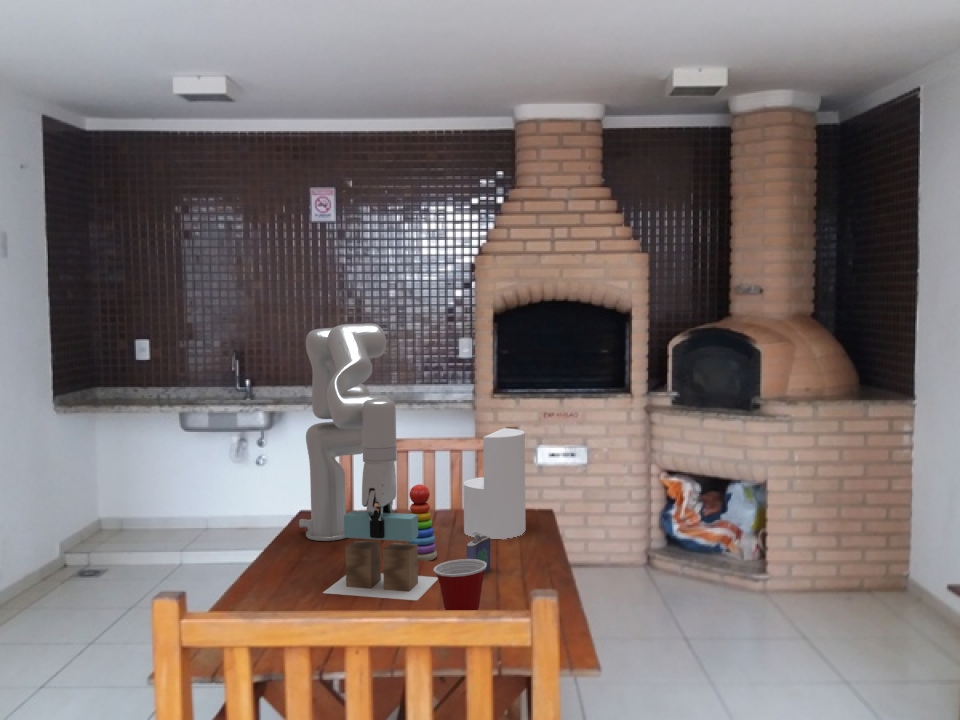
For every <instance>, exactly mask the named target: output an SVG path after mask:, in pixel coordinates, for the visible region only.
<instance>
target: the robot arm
mask: <svg viewBox="0 0 960 720" xmlns="http://www.w3.org/2000/svg"><path fill="white" fill-rule="evenodd" d="M305 348H306V353H307V356H308V359H309V361H310V365H311V369H312V385H311V387H312V390H311V393H312V396H311V407H312V412H313V414H314V416H315V417H316V418H317V419H319V420H332V421H328V422H327V421H326V422H319V423H314V424H312V425H311V426H310V427H308V429H307V430H306V434H305V443H306V447H307V454H308V461H309V462H308V463H309V475H310V476H309V478H310V479H309V480H310V483H309V484H310V515H311V516H310V517H311V518H310V519H306V518H301V519H299V521H298V525H299V526H298V527H299V528H306V529H307V531H306V532H305V536H306V538H307V539H309V540H311V541H317V542H318V541H319V542H330V541H333V542H334V541H339V540H344V539H346V538H345V537H344V515H346V514H347V506H346V505H347V502H346V501H347V498H346V495H347V494H346V472H345V469H344V468H343V466H342V465H341V464H340V463H339V462H338V460H336V458H337V457H341V456H342V457H343V456H355V455H362V462H363V468H362V469H363V470H362V480H361V481H362V482H361V505H362V506H363V507H364V508H365V507H366V511H365V512H368V514H369V520H370V537H371V538H384V520H382V518H383V513H394V512H393V505H394V504H393V503H394V501H395V499H396V497H397V477H396V476H397V475H396V465H395V462H396V461H397V459H398V458H397V455H398V454H397V415H396V414H397V413H396V412H397V411H396V410H397V409H396V407H397V406H396V403H395V401H393V400H392V399H390V397H388V396H386V395H384V394H373V395H372V394H370V391H369V389H368V387H367V386H366V385H365V384H363V383H365V382H366V381H367V380H368V379H369V378H370V377H371V375H372V373H373V363H372V362H371V359H376V358H379V357H381V356H383V354H384V353H385V351H386V349H387V338H386V334H385V332H384V329H383V328H382V327H381V326H380V325H378V324H375V323H347V324H346V323H345V324H344V323H343V324H339V325H336V326H334V327H327V328H326V327H325V328H324V327H323V328H316V329H313V330H312V329H311V331H309V332H308V334H307V335H306V337H305ZM376 504H377V505H376ZM378 512H379V513H378Z"/></svg>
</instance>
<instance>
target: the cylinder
mask: <svg viewBox="0 0 960 720" xmlns="http://www.w3.org/2000/svg"><path fill="white" fill-rule="evenodd" d="M525 437H526V435H525V431H524V430H522V429H517V428H505V427H504V428H501V429H498V430H496V431H494V432H492V433H489V434H487V435H485V436H483V437H482V438H483V439H482V442H483V443H482V444H483V445H482V447H483V454H482V456H483V457H482V459H483V477H474V478H470V479H467V480H465V481H464V482H463V533H464V534H465V535H466V536H467V535H468V537H470V536H471V537H470V538H473V537H475V534H476V533H475V532H477V533H479V534H481V535H480V536H482V535H483V536H489V537H490V539H502V540H508V539H507V538H510V539H513V537H516V538H518V537H517V536H519V537H521V536H523V535H524V534H525V533H526V532H525V531H527V530H526V521H527V520H526V439H525ZM524 532H525V533H524ZM473 533H475V534H473ZM523 533H524V534H523ZM522 534H523V535H522ZM520 535H521V536H520Z"/></svg>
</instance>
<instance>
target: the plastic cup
mask: <svg viewBox="0 0 960 720" xmlns="http://www.w3.org/2000/svg"><path fill="white" fill-rule="evenodd" d="M486 566H487V563H485V562H484V561H481V560H477V559H467V558H465V559H461V558H460V559H453V560H448V561H445V562H441V563H439V564H437V565H436V566H434V568H433V572H434V573H435V575H436V577H437V578H438V580H437V581H438V583H439V587H440V592H441V597H442V601H443V608H444V610H478V611H479V608H480V602H481V595H482V587H483V581H484V577H485V576H484V575H485V573H484V571H485V569H486Z"/></svg>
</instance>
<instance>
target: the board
mask: <svg viewBox="0 0 960 720" xmlns="http://www.w3.org/2000/svg"><path fill="white" fill-rule="evenodd" d="M436 581H439V580H438V578H437V576H436V577H435V576H423V575H418V584H417V585H416V586H415V587H414V588H413V589H412V590H411V591H410V592H407V591H394V590H384V573H383V572H382V573H381V581H380V582H378V583H377V584H376V585H375V586H374V587H373V588H371V589H368V588H355V587H346V574H345V575H343V576H342V577H341V578H340V579H339V580H338V581H336V582H335V583H334V584H332V585H331V586H330V587H329V588H327V589H326V590H324V591H323V592H322V594H328V595H330V594H331V595H339V596H340V595H343V596H356V597H365V598H366V597H369V598H380V599H381V598H382V599H394V600H404V601H405V600H406V601H407V600H408V601H419V600H420V598H421V597H422V596H423V595H424V594H425V593H426V592H427V591H428V590H429V589H430V588H431V587H432V586H433V585H434V584H435V583H436Z"/></svg>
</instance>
